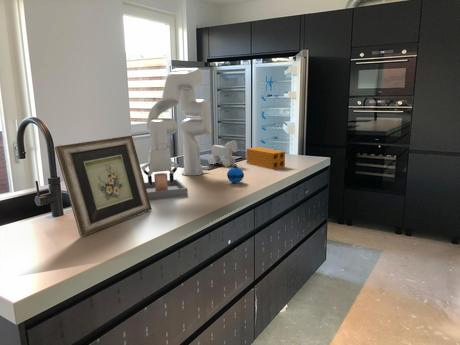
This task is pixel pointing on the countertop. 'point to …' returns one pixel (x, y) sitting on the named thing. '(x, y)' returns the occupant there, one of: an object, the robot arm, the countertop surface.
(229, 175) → the ornament
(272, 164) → the brick
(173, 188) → the grey square tray
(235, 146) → the pony
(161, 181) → the terracotta cup
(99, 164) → the picture frame
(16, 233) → the countertop surface
